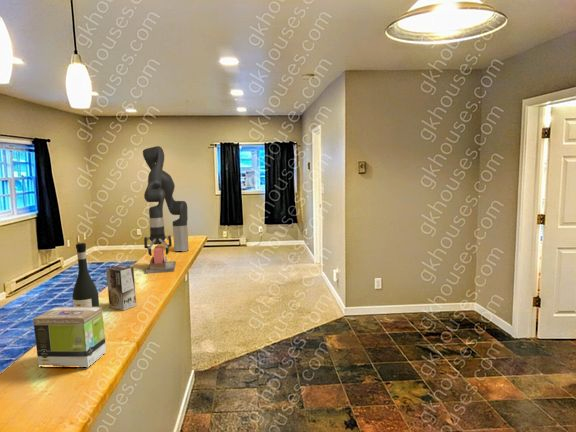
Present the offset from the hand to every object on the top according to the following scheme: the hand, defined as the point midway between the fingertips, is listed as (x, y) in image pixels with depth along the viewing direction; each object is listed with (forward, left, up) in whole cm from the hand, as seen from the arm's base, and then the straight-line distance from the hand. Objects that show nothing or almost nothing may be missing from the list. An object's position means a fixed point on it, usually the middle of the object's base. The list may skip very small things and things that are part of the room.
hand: (158, 255), depth 222 cm
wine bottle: (+80, -17, -8) cm, 82 cm away
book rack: (0, 0, -8) cm, 8 cm away
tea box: (+105, -15, -8) cm, 107 cm away
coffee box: (+60, -9, -8) cm, 61 cm away
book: (0, 0, -6) cm, 6 cm away
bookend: (0, +5, -6) cm, 8 cm away
